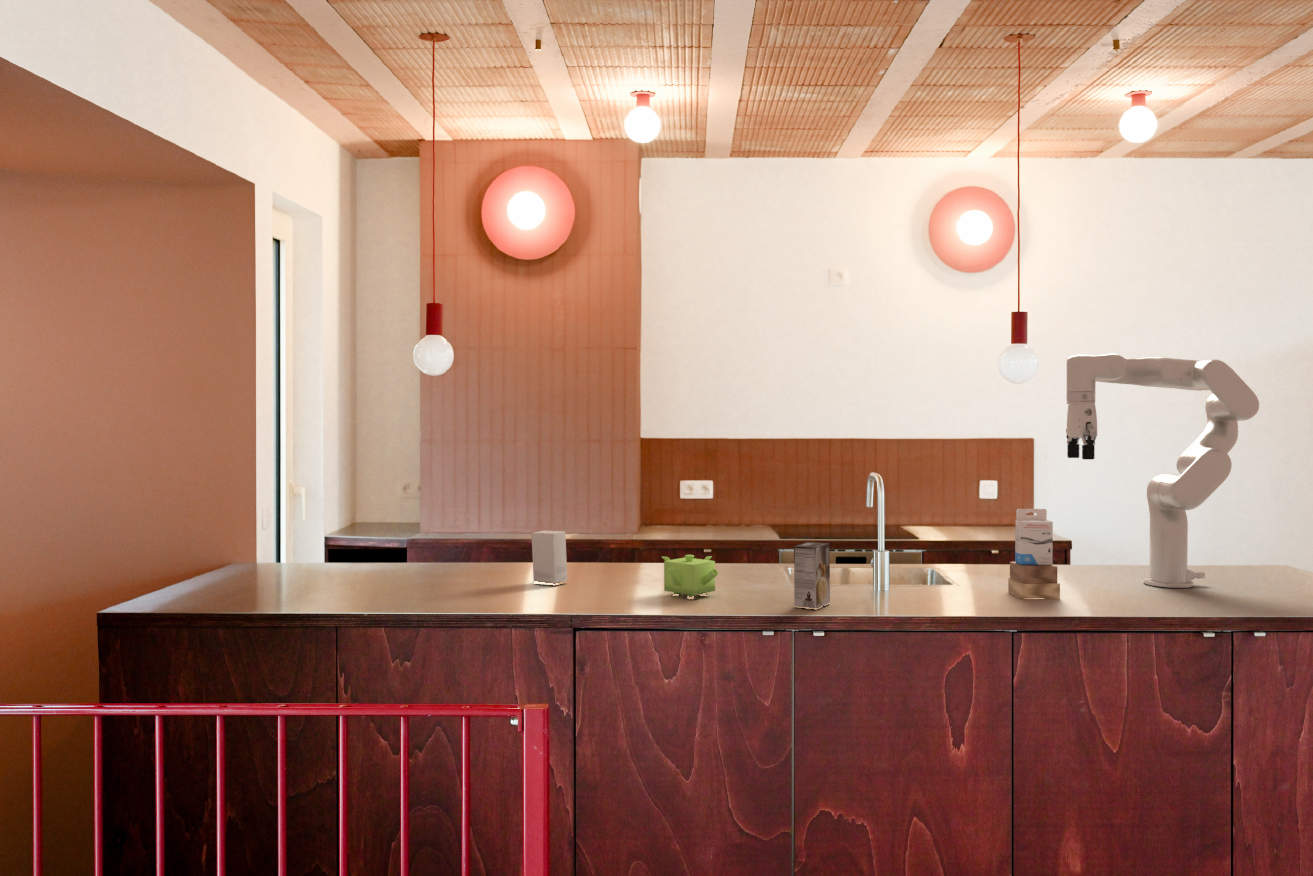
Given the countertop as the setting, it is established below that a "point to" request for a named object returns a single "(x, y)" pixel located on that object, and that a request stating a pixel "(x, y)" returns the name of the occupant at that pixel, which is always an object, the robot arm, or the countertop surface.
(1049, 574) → the tower top
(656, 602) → the countertop surface
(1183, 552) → the robot arm
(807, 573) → the coffee box
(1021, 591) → the tower base
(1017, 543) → the ink box
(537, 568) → the skincare box
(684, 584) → the kettle
